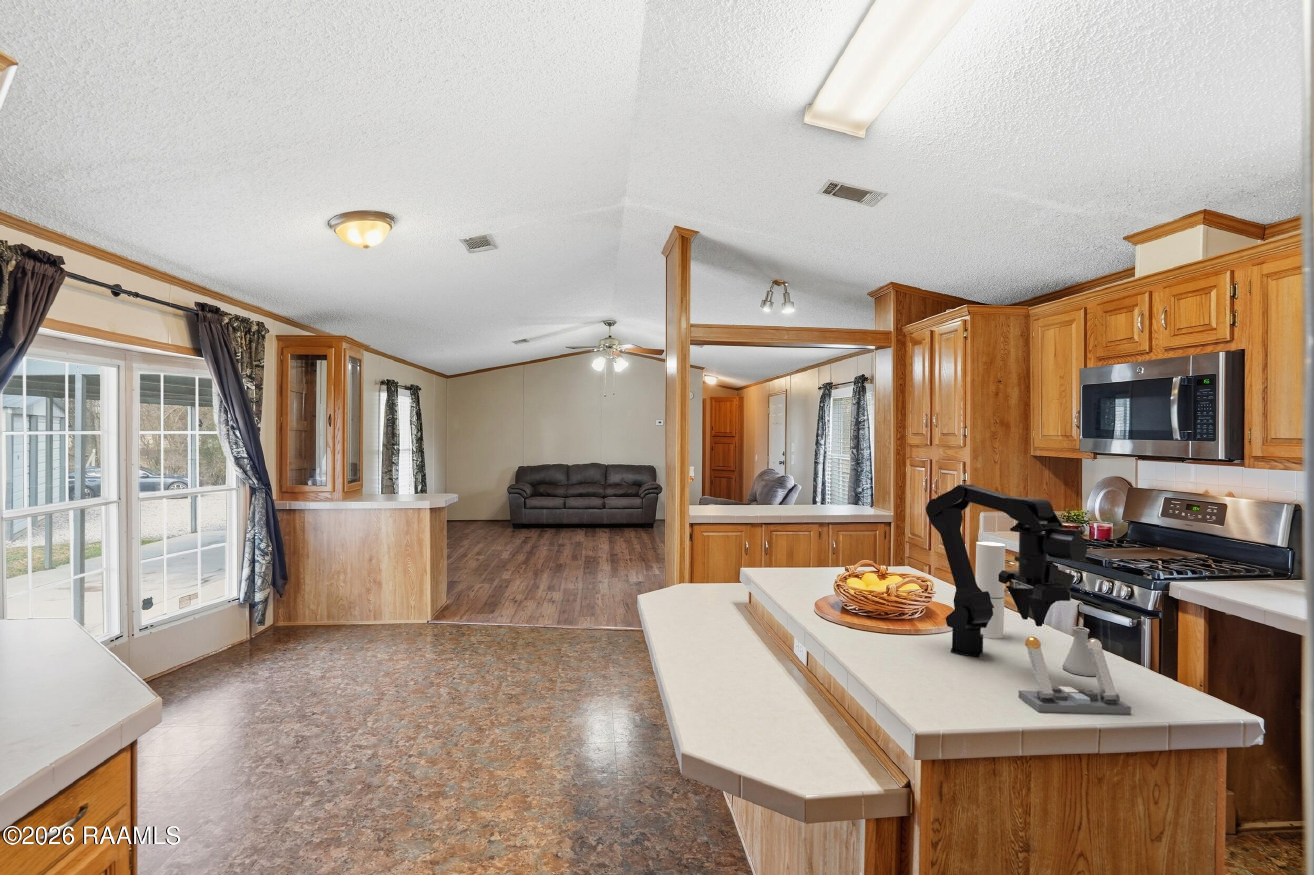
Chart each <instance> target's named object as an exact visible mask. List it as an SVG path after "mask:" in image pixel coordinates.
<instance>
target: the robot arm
mask: <svg viewBox="0 0 1314 875" xmlns="http://www.w3.org/2000/svg"><path fill="white" fill-rule="evenodd" d="M971 504H975V505H978V506H981V507H985V508H988V509H993V510H996V511H999V512H1002V513H1004V514H1006V515H1007V516H1008V517H1009V518H1010V519H1012V520H1015V521H1016V522H1017V523H1016V524H1015V525H1014V526H1012V527H1010V528H1009V530H1010V531H1011V533H1012V532H1014V533H1018V555H1017V556H1016V555H1015V556H1014V562H1018V569H1017V570H1013V569H1010V570H1009V569H1005V570H1002V571H1001V572H1000V573H999V582H1001V583H1003V584H1005V588H1006V589H1007V590H1008V593H1009V594H1010V597H1011V598H1012V600H1013V602H1014V605H1015V606H1016V608H1017V610H1018V612H1019V614H1020V617H1021V619H1022V620H1025V621H1026V620H1029V619H1028V618H1029V614H1030V610H1031V614H1032V617H1033V620H1034V624H1035V626H1036V627H1042V626H1043V624H1044V622H1045V619H1046V618H1047V614H1048V612H1049V610H1050V609H1051V606H1052V605H1053V604H1055V603H1056V602H1060V601H1061V602H1070V601H1072V591H1071V590H1070V589H1071V588H1072V586H1073V584H1074V580H1075V578H1076V575H1074V574H1071V573H1069V572H1067V571H1064V570H1061V569H1059V565H1057V564H1054V562H1053V560H1051V559H1048V558H1049V557H1050V558H1053V559H1058V560H1059V559H1060V560H1064V561H1071V562H1075V563H1080V562H1082V561H1083V560H1084V559H1085V557H1086V555H1087V553H1088V545H1087V543H1086V540H1085V537H1083V536H1082V534H1081V533H1082V532H1081V530H1080V529H1075V528H1071V529H1068V528H1065V526H1064V524H1063V523H1062V522H1061V520H1060V519H1059V518H1060V517H1058V515H1057V514H1056V512H1055V510H1054V508H1053V505H1052V503H1051V501H1049V500H1048V499H1046V498H1039V497H1021V496H1013V495H1008V494H1005V493H1001V492H997V491H993V490H990V489H986V488H984V487H983V488H982V487H978V486H976V485H974V484H971V483H970V484H969V483H968V484H967V483H966V484H963V483H961V484H958V485H956V486H955V487H953V488H952V489H950V490H948V491H945V492H944V493H942V494H940V495H938V496H937V497H935V498H932V499H929V501H928V502H927V504H926V506H925V512H926V516H927V518H928V520H929V522H930V524H931V525H932V527H933V528H934V529H935V530H936V531H937V532H938V533H939V536H940V539H941V542H942V545H943V549H944V551H945V552H944V553H945V554H946V559H947V561H948V565H949V569H950V571H951V572H950V573H951V576H952V579H953V582H954V583H953V584H954V586H955V593H954V596H953V597H954V598H953V608H954V610H953V611H951V612H950V613H949V614H948V615H947V616H945V622H946V627H949V628H951V629H952V632H951V633H952V637H951V638H952V640H951V648H950V653H953V654H960V655H965V656H971V657H977V658H979V657H981V654H983V652H984V637H983V634H981V628H986V627H987V624H988V622H989V621H990V620H991V618H992V616H993V609H992V608H994V606H993V604H992V602H991V599H990V594H989V592H988V591H985V592H982V590H981V589H980V588H979V587H978V586H977V584H976V580H975V574H974V570H973V568H972V564H971V561H970V557H969V555H968V550H967V548H966V545H965V541H964V538H963V535H962V529H961V528H962V525H963V520H964V517H963V512H965V510H967V509H968V508H969V507H970V505H971ZM1007 584H1008V585H1007Z"/></svg>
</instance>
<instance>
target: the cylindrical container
mask: <svg viewBox="0 0 1314 875" xmlns="http://www.w3.org/2000/svg"><path fill="white" fill-rule="evenodd" d="M975 543H976V544H975V545H976V546H975V575H974V577H975V580H976V584H977V586H978V587H979V588H980V589H981V590H982V592H985V591H988V592H989V594H990V599H991V602H992V604H993V606H994V608H992V609H993V616H992V618H991V620H990V621H989V622H988V624H987V627H986V628H981V634H983V638H986V639H987V638H989V639H994V640H995V639H997V638H998V639H1002V638H1004V633H1005V632H1004V631H1005V630H1004V624H1005V620H1004V618H1005V588H1006V584H1003V583H1001V582H999V573H1000V572H1001V571H1002V570H1006V544H1004V543H1001V542H996V541H976V542H975Z"/></svg>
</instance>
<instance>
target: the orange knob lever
mask: <svg viewBox="0 0 1314 875" xmlns="http://www.w3.org/2000/svg"><path fill="white" fill-rule="evenodd" d="M1024 644H1025V647H1026V649H1027V653H1028V657H1029V661H1030V664H1031V669H1032V672H1033V676H1034V679H1035V684H1036V687H1037V691H1038V692H1037V696H1038V698H1039V699H1040V700H1055V699H1056V694H1055V692H1054V691H1052V687H1051V686H1052V683H1051V680H1050V677H1049V676H1050V675H1049V673H1048V670H1047V666H1046V661H1045V658H1044V654H1043V650H1042V648H1041V646H1042V644H1041V641H1040V639H1038V638H1037V637H1035V636H1028V637H1027V638H1025V641H1024Z"/></svg>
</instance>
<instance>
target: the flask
mask: <svg viewBox="0 0 1314 875" xmlns="http://www.w3.org/2000/svg"><path fill="white" fill-rule="evenodd" d="M1072 629H1073V632H1074V635H1073V636H1074V637H1073V641H1072V644H1071V646H1070V648H1069V650H1068V653H1067V655H1066V657H1065V659H1064V661H1063V663H1062V670H1065V671H1067V672H1068V673H1071V674H1075V675H1079V676H1080V675H1081V676H1085V677H1096V675H1095V672H1094V668H1093V665H1092V662H1091V658H1090V655H1089V652H1088V649H1087V648H1086V641H1087V640H1088V639H1089V634H1090V629H1088V628H1086V627H1082V626H1073V627H1072Z"/></svg>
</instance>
